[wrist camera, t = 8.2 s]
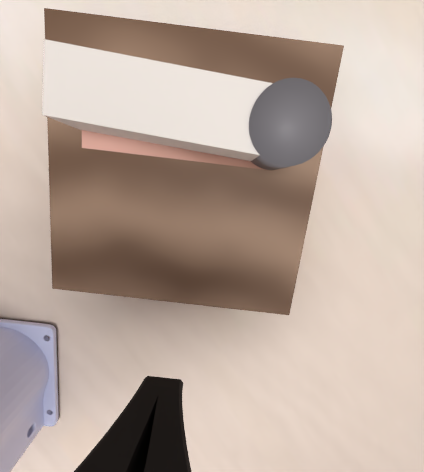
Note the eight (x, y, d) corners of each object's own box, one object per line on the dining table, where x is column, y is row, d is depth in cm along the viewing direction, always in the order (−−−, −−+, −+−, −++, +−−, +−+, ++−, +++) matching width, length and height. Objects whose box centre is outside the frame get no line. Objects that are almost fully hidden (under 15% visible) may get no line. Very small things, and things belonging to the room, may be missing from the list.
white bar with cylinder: (312, 109, 13) (342, 86, 10) (296, 175, 14) (319, 172, 11) (82, 65, 13) (40, 28, 10) (78, 135, 14) (38, 120, 11)
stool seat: (281, 300, 18) (289, 315, 16) (70, 277, 18) (51, 288, 16) (326, 63, 15) (344, 45, 13) (67, 31, 15) (43, 7, 13)
